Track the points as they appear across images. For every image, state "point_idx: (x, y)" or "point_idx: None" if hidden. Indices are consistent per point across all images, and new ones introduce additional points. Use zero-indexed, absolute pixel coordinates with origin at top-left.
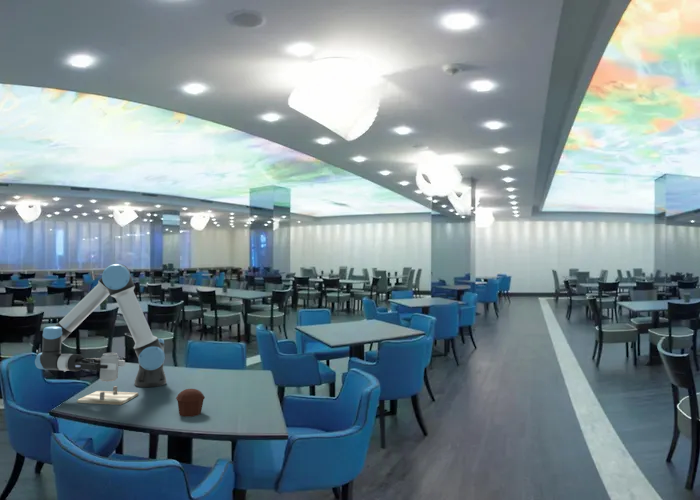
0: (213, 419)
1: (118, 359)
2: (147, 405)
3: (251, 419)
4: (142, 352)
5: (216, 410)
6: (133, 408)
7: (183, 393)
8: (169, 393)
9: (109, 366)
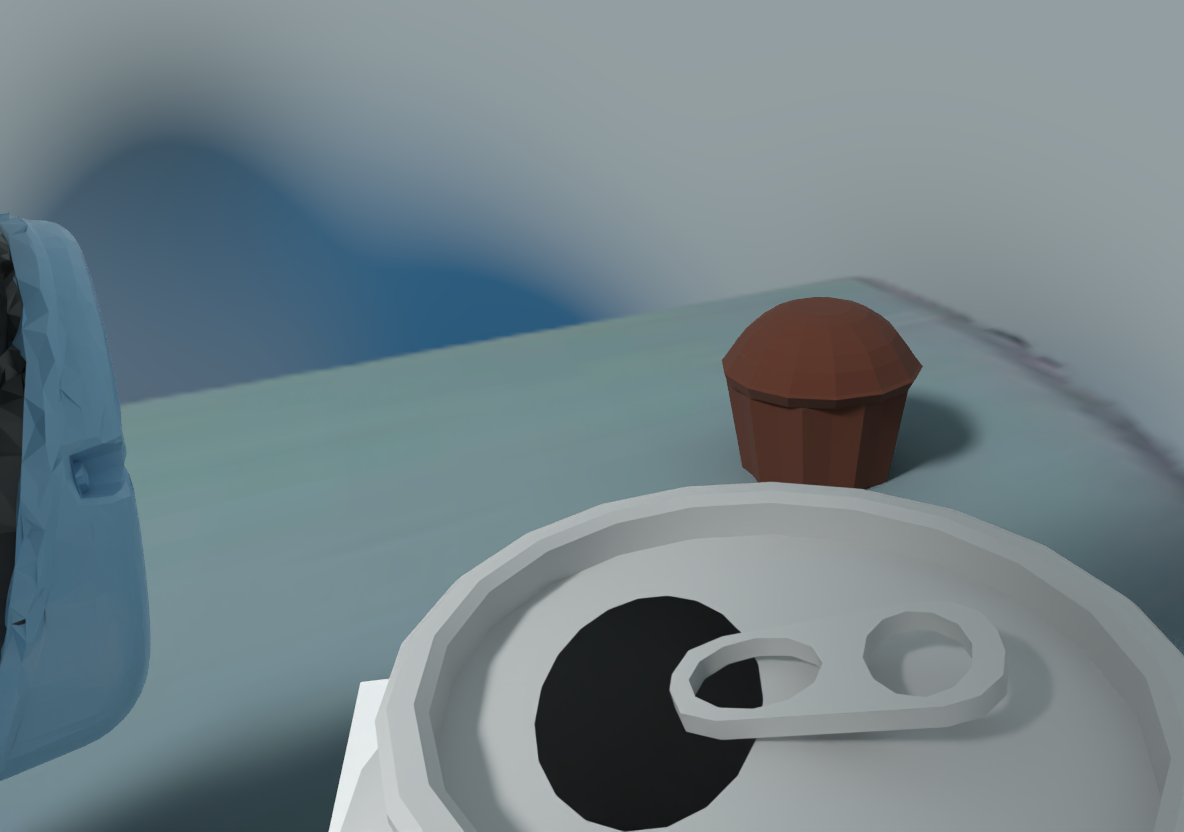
0: None
1: (603, 661)
2: None
3: None
4: (107, 376)
5: (688, 417)
6: None
7: (884, 325)
8: (245, 775)
9: None
